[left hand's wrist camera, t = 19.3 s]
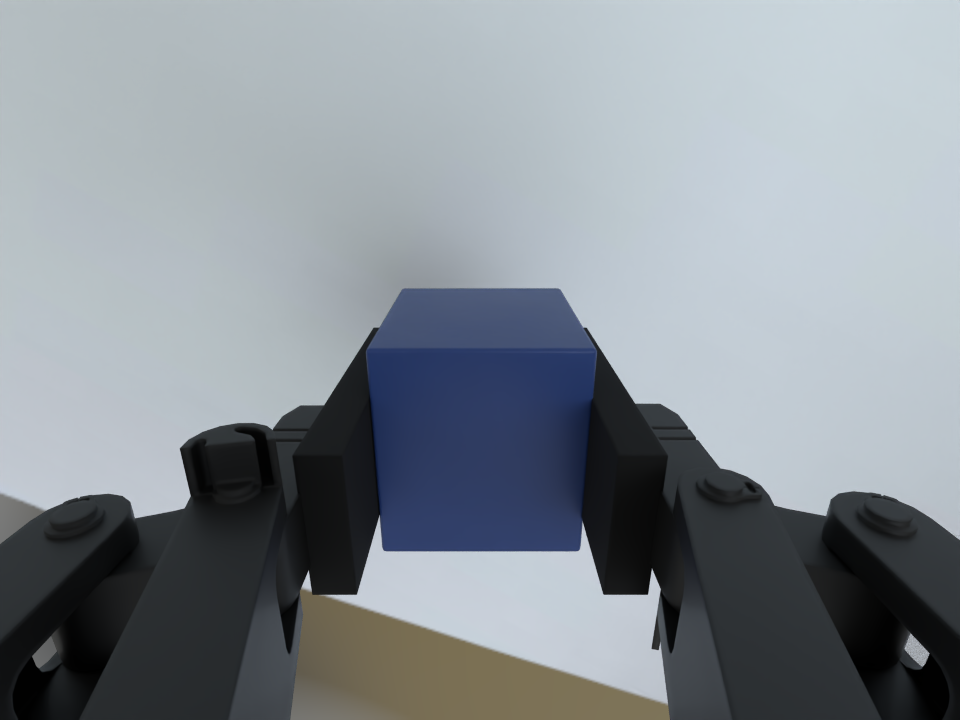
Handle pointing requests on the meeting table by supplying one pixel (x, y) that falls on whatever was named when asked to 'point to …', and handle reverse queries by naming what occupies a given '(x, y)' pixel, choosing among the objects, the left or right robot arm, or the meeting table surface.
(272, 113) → the meeting table surface
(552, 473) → the block
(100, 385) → the meeting table surface
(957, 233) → the meeting table surface
